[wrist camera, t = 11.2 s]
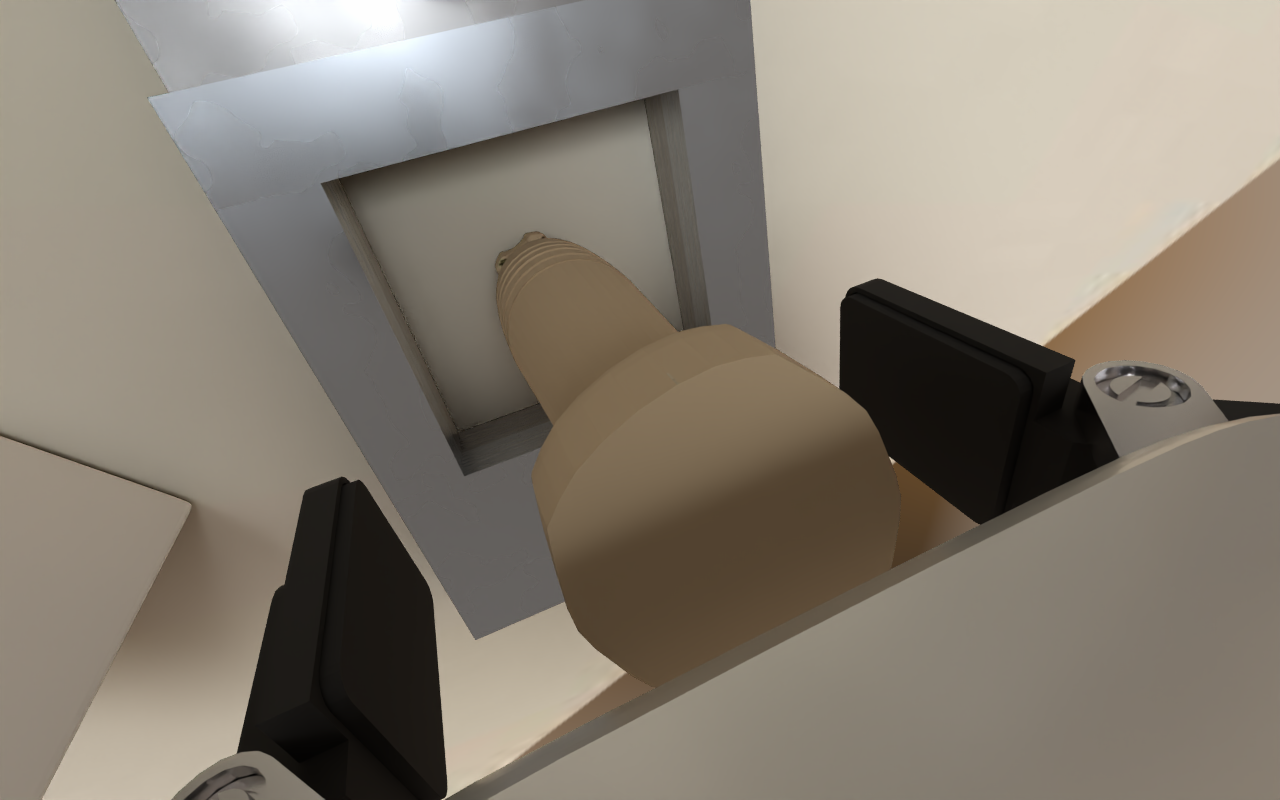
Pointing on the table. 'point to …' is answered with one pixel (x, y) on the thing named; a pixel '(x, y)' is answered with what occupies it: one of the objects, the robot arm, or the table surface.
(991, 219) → the table surface
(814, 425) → the handle
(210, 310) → the table surface
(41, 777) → the milk carton
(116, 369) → the table surface
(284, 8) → the lower end link
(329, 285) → the upper end link
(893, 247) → the table surface
